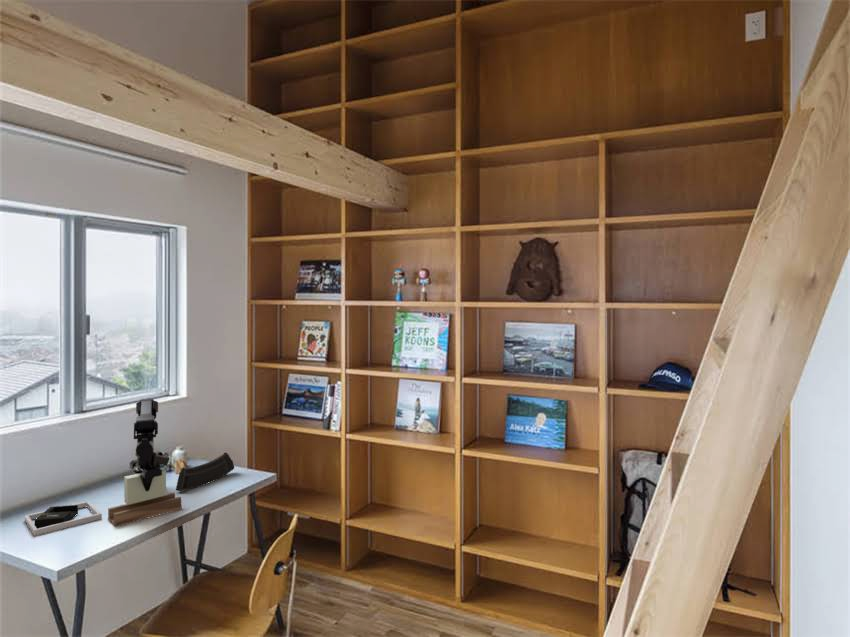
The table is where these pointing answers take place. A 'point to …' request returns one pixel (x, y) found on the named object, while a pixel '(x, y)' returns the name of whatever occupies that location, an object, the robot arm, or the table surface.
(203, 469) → the magazine
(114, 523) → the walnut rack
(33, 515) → the grey frame
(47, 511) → the battery charger
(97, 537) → the table surface
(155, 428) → the robot arm
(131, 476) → the green book
